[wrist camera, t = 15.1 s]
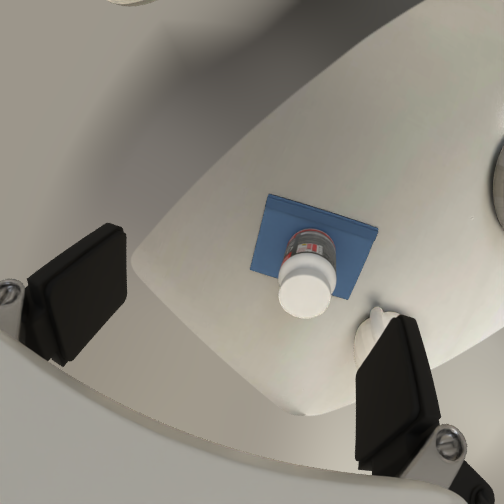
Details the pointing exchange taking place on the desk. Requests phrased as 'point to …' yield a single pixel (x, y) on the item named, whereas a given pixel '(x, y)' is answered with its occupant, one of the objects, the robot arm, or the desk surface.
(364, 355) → the cat figurine
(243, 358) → the desk surface
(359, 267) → the cloth
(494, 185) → the flying saucer
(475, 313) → the desk surface
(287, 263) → the pill bottle
